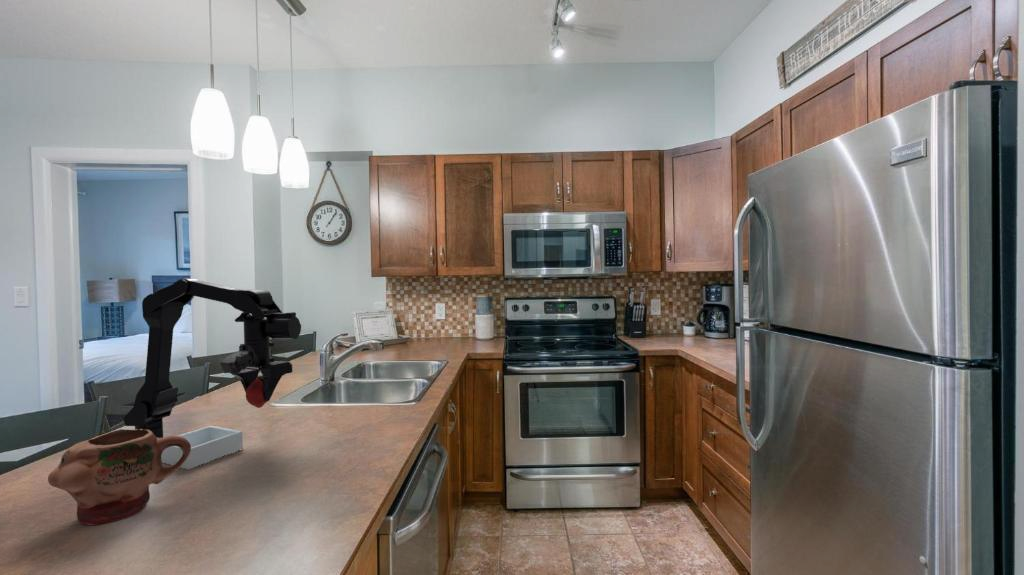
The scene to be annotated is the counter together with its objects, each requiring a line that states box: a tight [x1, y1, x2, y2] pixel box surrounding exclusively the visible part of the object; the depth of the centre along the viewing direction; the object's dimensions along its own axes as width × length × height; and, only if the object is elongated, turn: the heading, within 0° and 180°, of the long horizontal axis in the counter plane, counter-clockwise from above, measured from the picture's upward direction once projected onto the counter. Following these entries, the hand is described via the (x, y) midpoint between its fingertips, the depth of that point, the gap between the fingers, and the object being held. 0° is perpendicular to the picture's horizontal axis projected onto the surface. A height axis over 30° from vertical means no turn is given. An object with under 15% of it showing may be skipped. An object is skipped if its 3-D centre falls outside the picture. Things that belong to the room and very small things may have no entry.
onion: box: [245, 378, 267, 409], centre depth 114 cm, size 6×6×8 cm
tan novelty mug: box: [47, 428, 191, 526], centre depth 83 cm, size 20×12×14 cm, turn 133°
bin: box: [161, 425, 244, 470], centre depth 108 cm, size 13×13×4 cm
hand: (258, 400), depth 114 cm, fingers closed on onion, 6 cm apart
